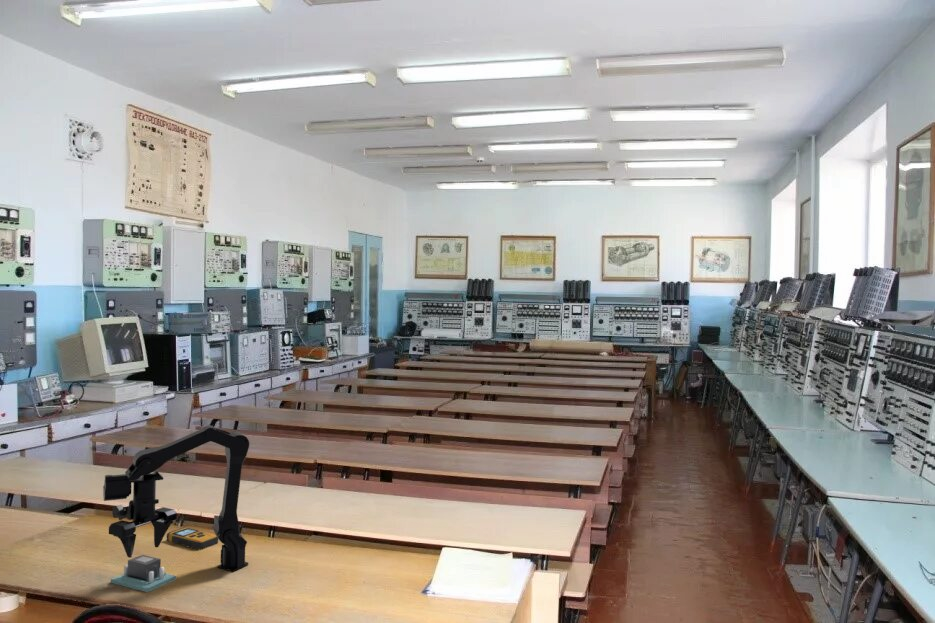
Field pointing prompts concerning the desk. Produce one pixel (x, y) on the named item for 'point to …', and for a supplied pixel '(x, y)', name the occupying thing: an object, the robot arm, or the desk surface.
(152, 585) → the teal fixture plate
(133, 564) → the block
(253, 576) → the desk surface
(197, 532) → the electronic device
